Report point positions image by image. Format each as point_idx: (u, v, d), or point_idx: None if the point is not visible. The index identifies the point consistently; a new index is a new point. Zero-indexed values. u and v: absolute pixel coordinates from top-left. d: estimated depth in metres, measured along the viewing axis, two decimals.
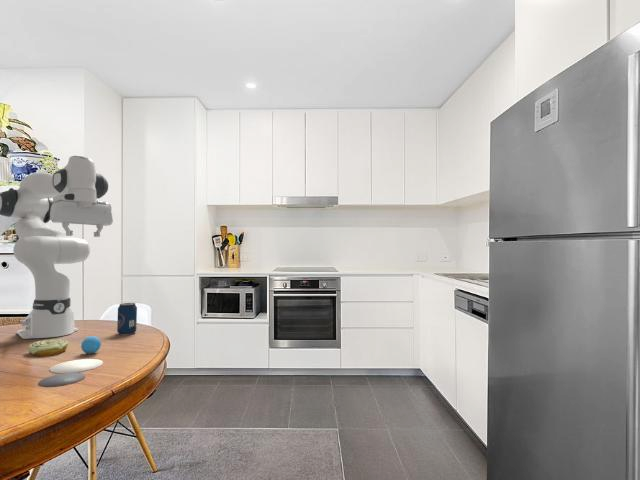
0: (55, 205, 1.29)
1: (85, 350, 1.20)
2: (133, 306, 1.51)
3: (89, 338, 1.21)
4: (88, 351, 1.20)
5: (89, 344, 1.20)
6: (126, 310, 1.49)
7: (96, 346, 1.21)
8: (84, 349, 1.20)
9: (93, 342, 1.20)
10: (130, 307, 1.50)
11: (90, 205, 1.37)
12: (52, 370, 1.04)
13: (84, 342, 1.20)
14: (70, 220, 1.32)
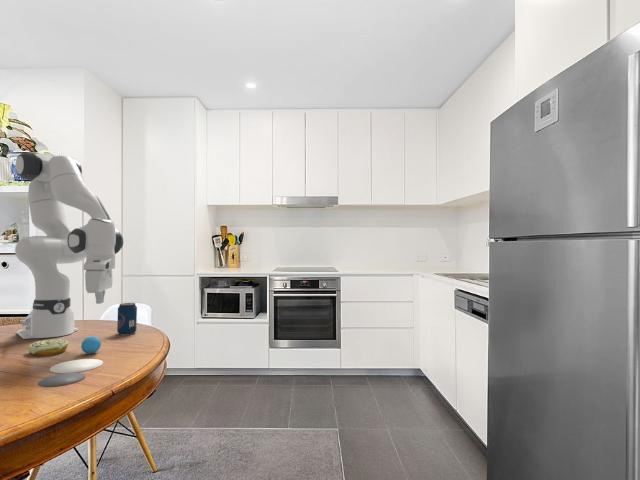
0: (97, 275, 1.23)
1: (85, 350, 1.20)
2: (133, 306, 1.51)
3: (89, 338, 1.21)
4: (88, 351, 1.20)
5: (89, 344, 1.20)
6: (126, 310, 1.49)
7: (96, 346, 1.21)
8: (84, 349, 1.20)
9: (93, 342, 1.20)
10: (130, 307, 1.50)
11: None
12: (52, 370, 1.04)
13: (84, 342, 1.20)
14: (102, 289, 1.27)
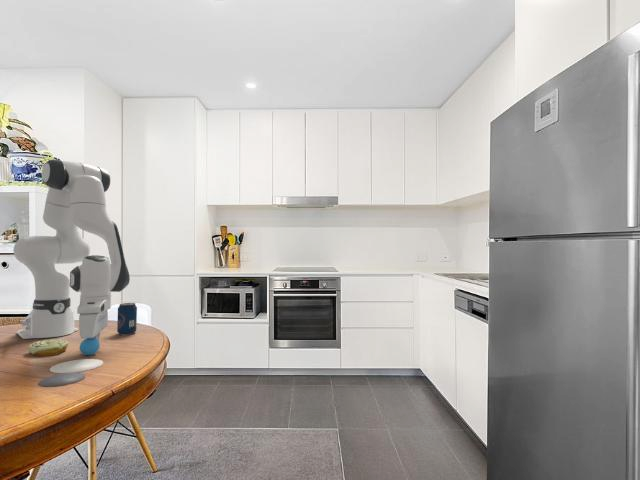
0: (92, 320, 1.16)
1: (84, 354, 1.19)
2: (133, 306, 1.51)
3: (87, 343, 1.18)
4: None
5: (87, 350, 1.18)
6: (126, 310, 1.49)
7: (95, 351, 1.19)
8: (83, 353, 1.18)
9: (91, 348, 1.18)
10: (130, 307, 1.50)
11: None
12: (52, 370, 1.04)
13: (82, 347, 1.18)
14: (97, 333, 1.20)
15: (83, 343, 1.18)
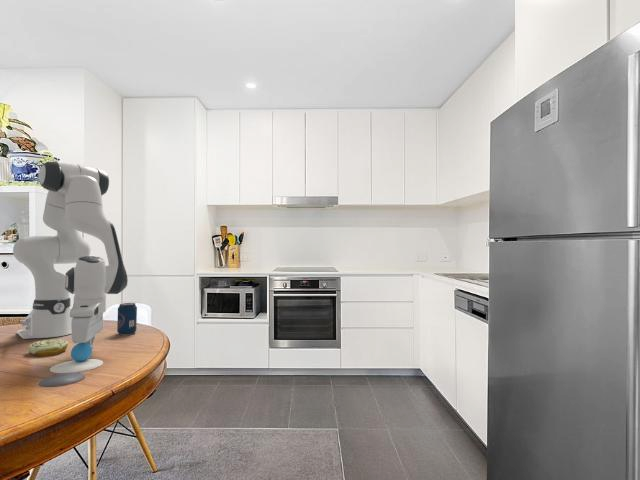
0: (85, 324, 1.11)
1: None
2: (133, 306, 1.51)
3: None
4: None
5: None
6: (126, 310, 1.49)
7: None
8: None
9: None
10: (130, 307, 1.50)
11: None
12: (52, 370, 1.04)
13: None
14: (90, 337, 1.15)
15: None
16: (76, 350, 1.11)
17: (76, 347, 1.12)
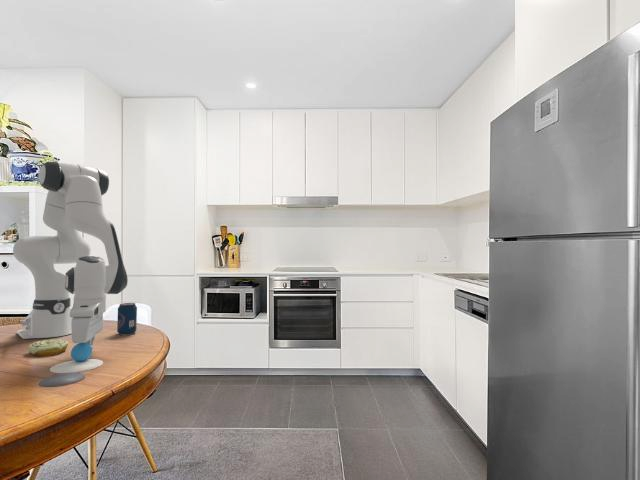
0: (84, 324, 1.11)
1: None
2: (133, 306, 1.51)
3: None
4: None
5: None
6: (126, 310, 1.49)
7: None
8: None
9: None
10: (130, 307, 1.50)
11: None
12: (52, 370, 1.04)
13: None
14: (90, 337, 1.15)
15: None
16: (76, 350, 1.11)
17: (76, 347, 1.12)
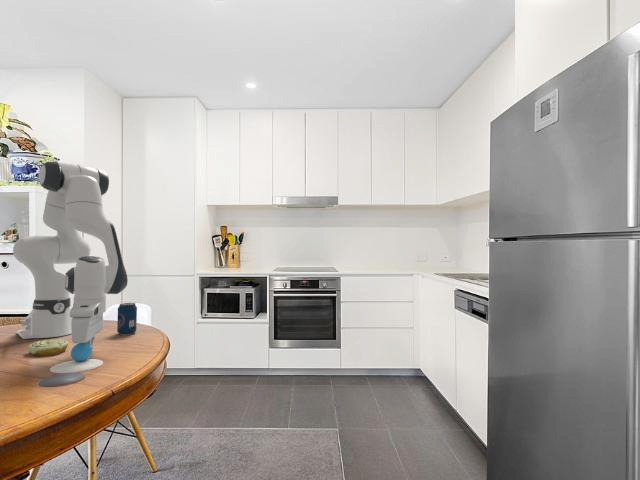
0: (84, 324, 1.11)
1: None
2: (133, 306, 1.51)
3: None
4: None
5: None
6: (126, 310, 1.49)
7: None
8: None
9: None
10: (130, 307, 1.50)
11: None
12: (52, 370, 1.04)
13: None
14: (90, 337, 1.15)
15: None
16: (76, 350, 1.11)
17: (76, 347, 1.12)
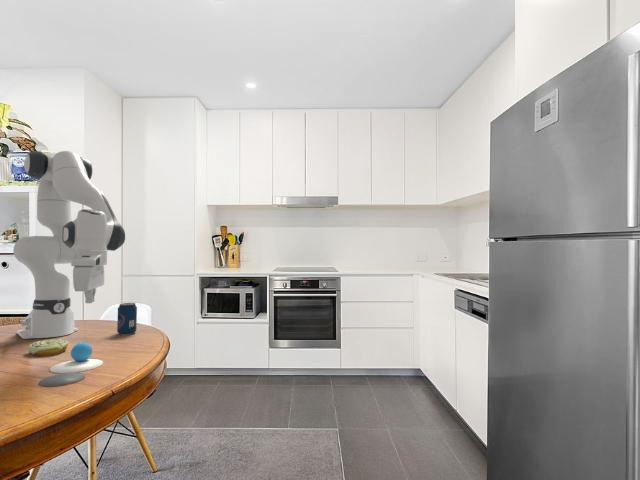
0: (86, 272, 1.11)
1: None
2: (133, 306, 1.51)
3: None
4: None
5: None
6: (126, 310, 1.49)
7: None
8: None
9: None
10: (130, 307, 1.50)
11: None
12: (52, 370, 1.04)
13: None
14: (92, 287, 1.16)
15: None
16: (76, 350, 1.11)
17: (76, 347, 1.12)
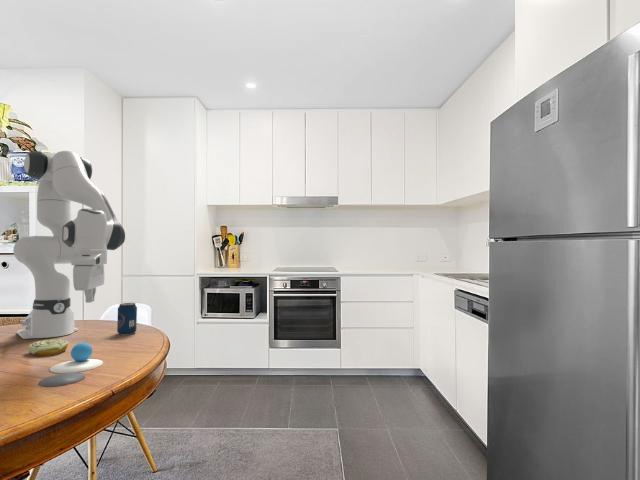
0: (86, 271, 1.11)
1: None
2: (133, 306, 1.51)
3: None
4: None
5: None
6: (126, 310, 1.49)
7: None
8: None
9: None
10: (130, 307, 1.50)
11: None
12: (52, 370, 1.04)
13: None
14: (92, 287, 1.16)
15: None
16: (76, 350, 1.11)
17: (76, 347, 1.12)
